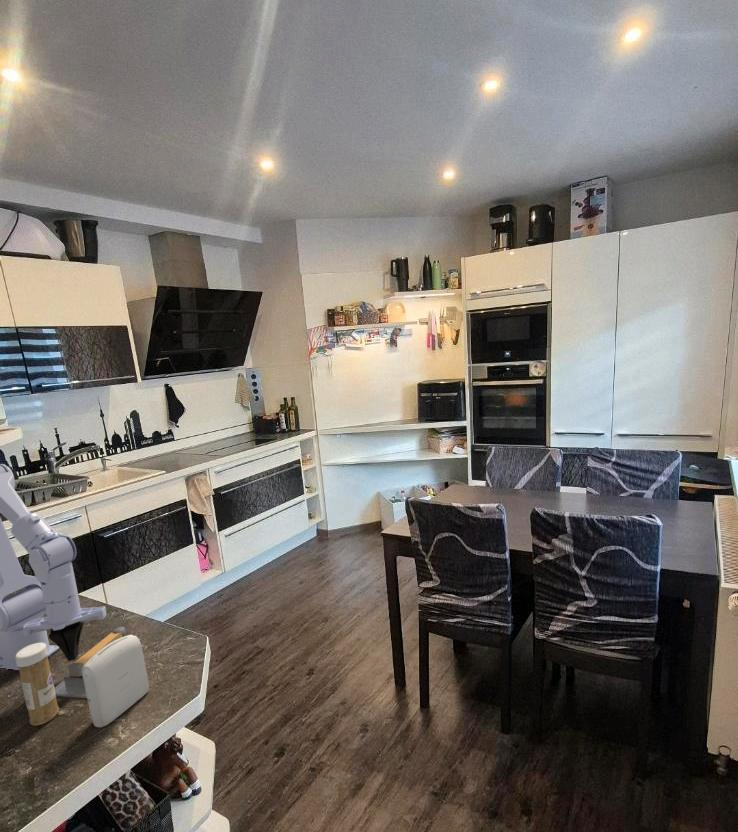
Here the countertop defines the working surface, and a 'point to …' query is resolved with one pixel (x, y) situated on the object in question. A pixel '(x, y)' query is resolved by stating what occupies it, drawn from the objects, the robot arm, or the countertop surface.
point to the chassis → (72, 686)
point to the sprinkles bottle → (37, 683)
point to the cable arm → (95, 651)
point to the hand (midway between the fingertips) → (73, 657)
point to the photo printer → (115, 679)
